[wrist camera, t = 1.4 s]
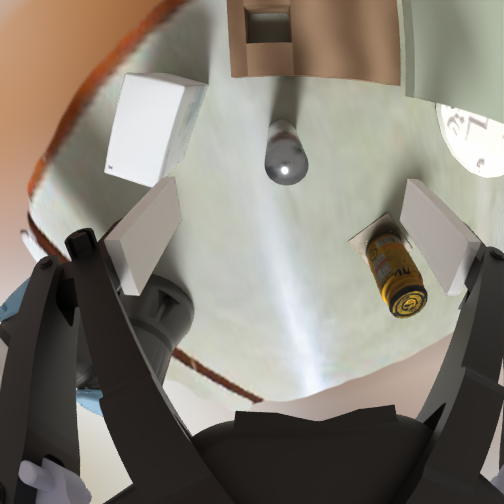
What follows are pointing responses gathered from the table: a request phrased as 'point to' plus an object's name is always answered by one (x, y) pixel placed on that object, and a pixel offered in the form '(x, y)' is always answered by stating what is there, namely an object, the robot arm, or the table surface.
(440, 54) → the pale green angled bracket
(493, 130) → the white round plaque
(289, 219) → the table surface
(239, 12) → the socket block
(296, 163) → the peg
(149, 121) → the skincare box
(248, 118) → the table surface
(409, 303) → the condiment
